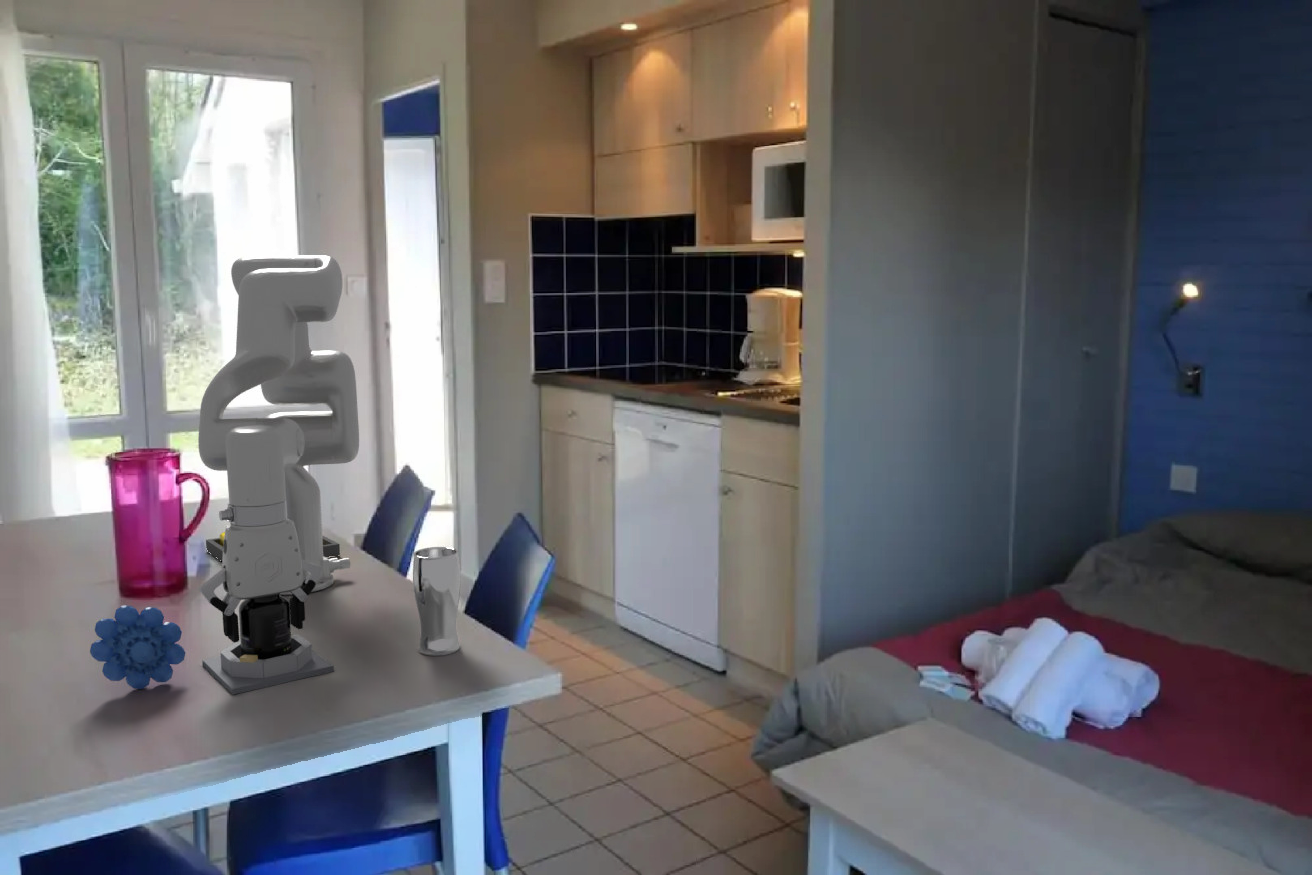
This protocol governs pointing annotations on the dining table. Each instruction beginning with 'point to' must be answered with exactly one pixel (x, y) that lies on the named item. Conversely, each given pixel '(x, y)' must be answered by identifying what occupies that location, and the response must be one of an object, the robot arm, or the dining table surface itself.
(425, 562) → the beer glass
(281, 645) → the supplement bottle
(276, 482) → the robot arm
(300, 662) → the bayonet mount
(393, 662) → the dining table surface
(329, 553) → the shallow dark tray
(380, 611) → the dining table surface
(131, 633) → the blue petal flower
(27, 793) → the dining table surface
